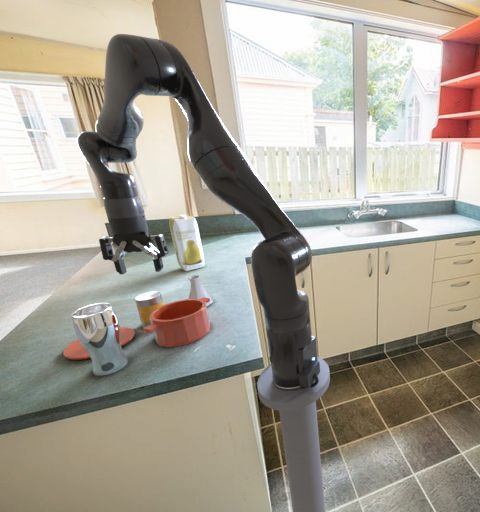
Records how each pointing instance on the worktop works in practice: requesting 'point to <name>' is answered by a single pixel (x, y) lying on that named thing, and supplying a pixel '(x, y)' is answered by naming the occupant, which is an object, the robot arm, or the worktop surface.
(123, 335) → the lid
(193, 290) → the flask
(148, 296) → the can
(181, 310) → the pot
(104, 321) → the silver metal cup
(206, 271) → the worktop surface
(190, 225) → the juice carton
